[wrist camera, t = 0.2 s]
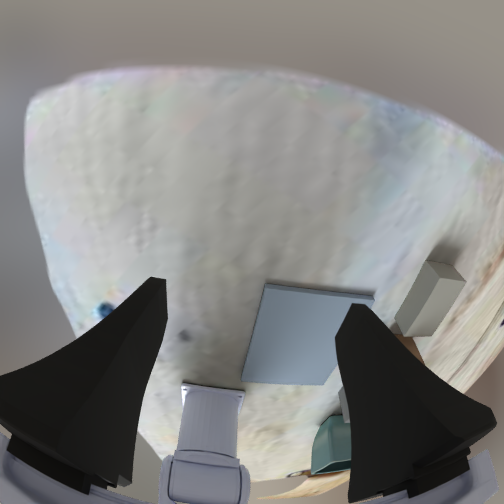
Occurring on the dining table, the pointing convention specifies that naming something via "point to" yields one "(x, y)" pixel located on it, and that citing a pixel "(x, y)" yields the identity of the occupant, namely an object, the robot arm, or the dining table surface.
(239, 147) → the dining table surface
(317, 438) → the flower pot
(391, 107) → the dining table surface
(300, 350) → the slate mat
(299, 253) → the dining table surface
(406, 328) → the pale grey block
